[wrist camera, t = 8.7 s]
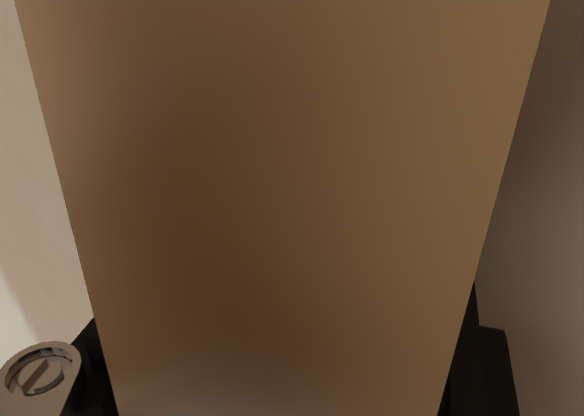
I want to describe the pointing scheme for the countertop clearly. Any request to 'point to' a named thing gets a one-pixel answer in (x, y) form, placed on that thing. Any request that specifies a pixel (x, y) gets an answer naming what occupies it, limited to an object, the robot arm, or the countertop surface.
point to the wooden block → (280, 190)
